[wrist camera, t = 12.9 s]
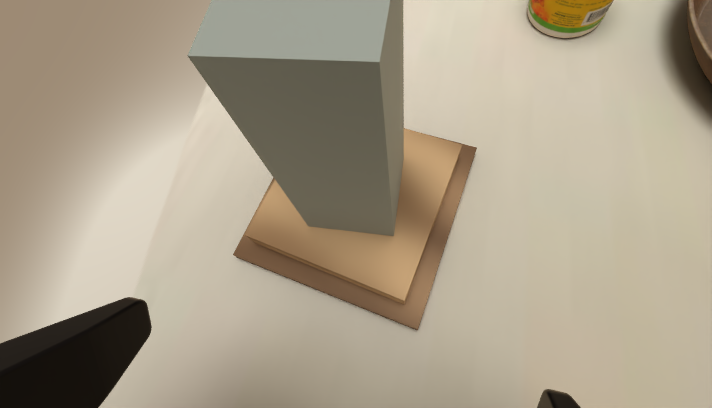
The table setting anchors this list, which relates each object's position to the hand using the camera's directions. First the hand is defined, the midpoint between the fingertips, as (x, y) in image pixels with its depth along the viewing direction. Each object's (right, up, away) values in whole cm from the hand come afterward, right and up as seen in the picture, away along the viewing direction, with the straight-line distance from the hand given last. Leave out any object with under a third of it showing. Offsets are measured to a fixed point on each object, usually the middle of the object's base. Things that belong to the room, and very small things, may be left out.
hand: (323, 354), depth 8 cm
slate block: (+1, +4, +14) cm, 14 cm away
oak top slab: (+1, +4, +15) cm, 16 cm away
